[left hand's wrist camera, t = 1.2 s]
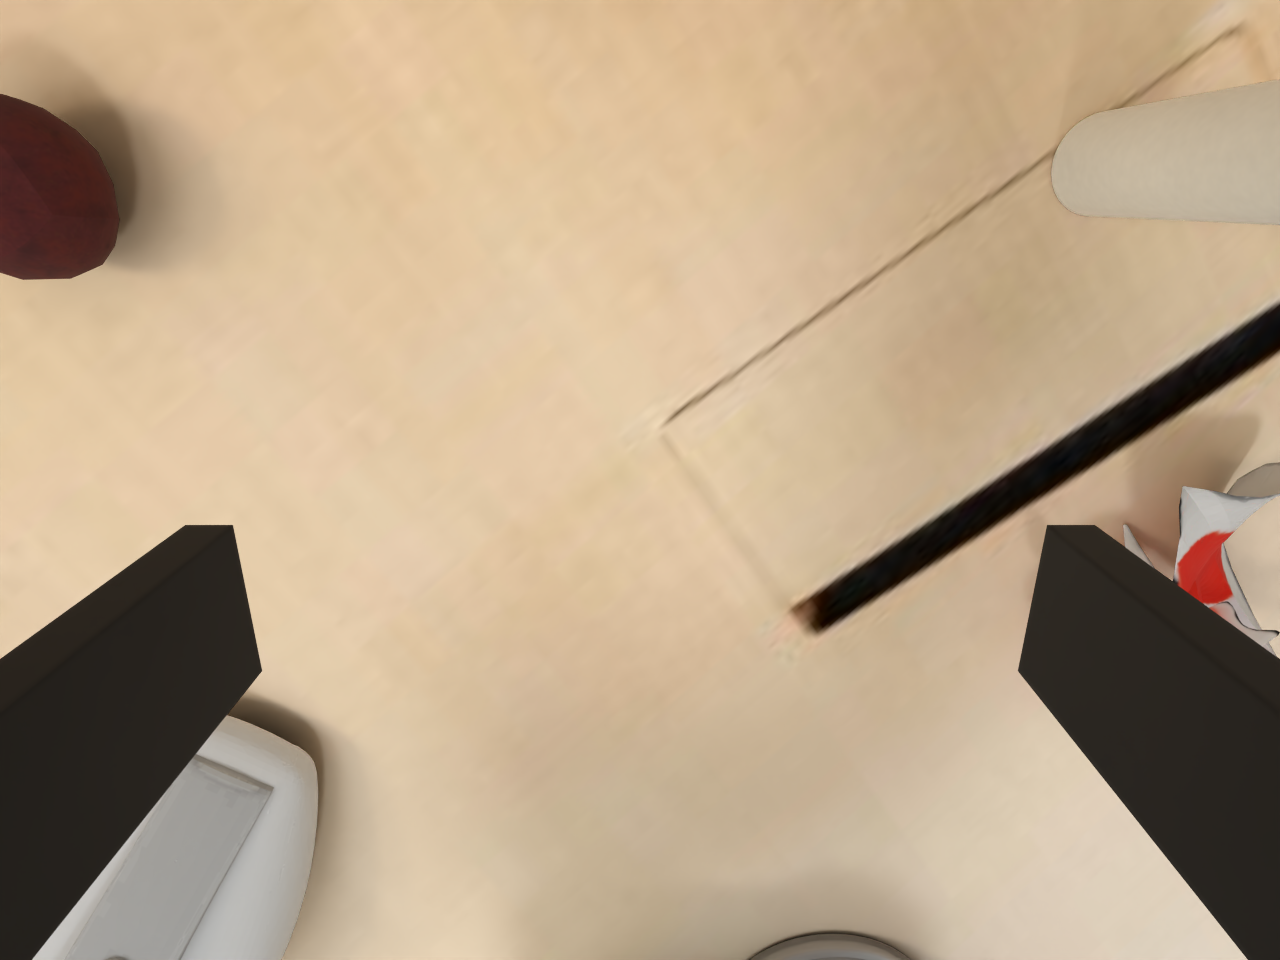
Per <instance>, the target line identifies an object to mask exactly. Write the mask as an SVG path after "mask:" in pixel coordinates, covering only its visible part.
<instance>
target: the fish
mask: <svg viewBox="0 0 1280 960" xmlns="http://www.w3.org/2000/svg"><path fill="white" fill-rule="evenodd" d="M1279 495H1280V463H1270V464H1265V465H1263V466H1261V467H1259V468H1257V469H1255V470H1253V471H1251V472H1249V473H1248V474H1246V475H1244V476H1242V477H1241V478H1239V479H1238V480H1237V481H1236V482H1235V483H1234V485H1233V486H1232V487H1231V489H1230V490H1229V491H1228V492H1227V494H1225V493H1221V492H1216V491H1211V490H1205V489H1198V488H1192V487H1185V486H1183V488H1182V493H1181V499H1180V505H1179V519H1180V539H1179V545H1178V551H1177V558H1176V564H1175V571H1174V578H1173V582H1174V583H1175V584H1177V585H1178V586H1179V587H1181V588H1182V589H1184V590H1185V591H1186V592H1188V593H1189V594H1190V595H1192V596H1193V597H1195V598H1196V599H1197V600H1199V601H1200V602H1202V603H1203V604H1204V605H1206V606H1207V607H1208V608H1210V609H1211V610H1213V611H1214V612H1215V613H1217V614H1218V615H1220V616H1221V617H1222V618H1224V619H1225V620H1226V621H1228V622H1229V623H1231V624H1232V625H1233V626H1235V627H1236V628H1237V629H1239V630H1240V631H1242V632H1243V633H1244V634H1246V635H1247V636H1249V637H1250V638H1251V639H1253V640H1254V641H1255V642H1257V643H1258V644H1260V645H1261V646H1262V647H1264V648H1265V649H1267V650H1268V651H1269V652H1271V653H1272V654H1273V655H1275V653H1274V651H1273V649H1272V647H1271V646H1270V644H1269V641H1271V640H1272V639H1273V638H1275V637H1276V636H1278V634H1279V633H1280V632H1278V631H1276V630H1262V629H1261V628H1260V626H1259V624H1258V622H1257V620H1256V619H1255V617H1254V615H1253V613H1252V611H1251V609H1250V606H1249V604H1248V602H1247V600H1246V598H1245V596H1244V594H1243V591H1242V589H1241V587H1240V585H1239V583H1238V581H1237V579H1236V576H1235V574H1234V572H1233V570H1232V568H1231V565H1230V562H1229V559H1228V556H1227V553H1226V550H1225V547H1224V544H1223V542H1224V541H1225V540H1226V539H1228V537H1229V536H1230V535H1231V534H1232V533H1233V532H1234V531H1235V530H1236V529H1237V528H1238V527H1239V526H1240V525H1241V524H1242V523H1243V522H1244V521H1245V520H1246V519H1247V518H1248V517H1249V516H1251V515H1252V514H1253V513H1254V512H1255V511H1257V510H1258V509H1259V508H1260V507H1262V506H1263V505H1264V504H1265V503H1267V502H1268V501H1270V500H1272V499H1273V498H1275V497H1277V496H1279ZM1123 531H1124V541H1125V547H1126V548H1127V549H1128V550H1130V551H1131V552H1132V553H1134V554H1135V555H1137V556H1138V557H1139V558H1141V559H1142V560H1143V561H1145V562H1146V563H1148V564H1149V565H1150V566H1152V567H1153V565H1152V563H1151V562H1150V560H1149V559H1148V557H1147V556H1146V555H1145V553H1144V552H1143V550H1142V549H1141V547H1140V546H1139V544H1138V542H1137V541H1136V539H1135V537H1134V536H1133V534H1132V532H1131V531H1130V529H1129V527H1128V526H1127V525H1123ZM1153 568H1154V567H1153ZM1275 656H1276V655H1275ZM1276 657H1277V656H1276Z"/></svg>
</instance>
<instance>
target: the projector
mask: <svg viewBox="0 0 1280 960" xmlns="http://www.w3.org/2000/svg"><path fill="white" fill-rule="evenodd" d="M317 815H318V781H317V771H316V767H315V764H314V761H313V760H312V758H311V757H310V756H309V755H308V753H306V752H305V751H304V750H303V749H301V748H300V747H298V746H296V745H293V744H291V743H290V742H288V741H286V740H284V739H282V738H280V737H278V736H276V735H275V734H273V733H271V732H268V731H266V730H264V729H262V728H259V727H257V726H255V725H253V724H250V723H248V722H245V721H243V720H240V719H237V718H234V717H231V716H228V715H226V717H225V718H224V719H223V721H222V722H221V723H220V724H219V726H218V727H217V728H216V729H215V731H214V732H213V733H212V734H211V736H210V737H209V738H208V739H207V741H206V742H205V743H204V744H203V746H202V747H201V748H200V749H199V751H198V752H197V753H196V754H195V756H194V757H193V758H192V759H191V761H190V762H189V763H188V764H187V766H186V767H185V768H184V769H183V771H182V772H181V773H180V775H179V776H178V777H177V778H176V780H175V781H174V782H173V783H172V785H171V786H170V787H169V788H168V790H167V791H166V792H165V793H164V795H163V796H162V797H161V798H160V800H159V801H158V802H157V803H156V805H155V806H154V807H153V808H152V810H151V811H150V812H149V813H148V815H147V816H146V817H145V818H144V820H143V821H142V822H141V823H140V825H139V826H138V827H137V829H136V830H135V831H134V832H133V834H132V835H131V836H130V837H129V839H128V840H127V841H126V842H125V844H124V845H123V846H122V847H121V849H120V850H119V851H118V852H117V854H116V855H115V856H114V857H113V859H112V860H111V861H110V862H109V864H108V865H107V866H106V867H105V869H104V870H103V871H102V872H101V874H100V875H99V876H98V877H97V879H96V880H95V881H94V883H93V884H92V885H91V886H90V888H89V889H88V890H87V891H86V893H85V894H84V895H83V896H82V898H81V899H80V900H79V901H78V903H77V904H76V905H75V906H74V908H73V909H72V910H71V911H70V913H69V914H68V915H67V916H66V918H65V919H64V920H63V921H62V923H61V924H60V925H59V926H58V928H57V929H56V930H55V931H54V933H53V934H52V935H51V936H50V938H49V939H48V940H47V942H46V943H45V944H44V945H43V947H42V948H41V949H40V950H39V952H38V953H37V954H36V955H35V957H34V958H33V959H32V960H282V957H283V955H284V953H285V950H286V948H287V946H288V943H289V941H290V938H291V935H292V933H293V930H294V927H295V924H296V922H297V919H298V916H299V913H300V909H301V906H302V902H303V899H304V896H305V892H306V889H307V884H308V879H309V875H310V870H311V865H312V859H313V853H314V846H315V837H316V828H317Z"/></svg>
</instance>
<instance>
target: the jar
mask: <svg viewBox="0 0 1280 960" xmlns="http://www.w3.org/2000/svg"><path fill="white" fill-rule="evenodd" d="M1051 180H1052V186H1053V189H1054V192H1055V194H1056V196H1057V198H1058V200H1059V201H1060V202H1061V204H1062V205H1063V206H1064V207H1065V208H1067V209H1068V210H1069V211H1071V212H1073V213H1075V214H1078V215H1081V216H1088V217H1110V218H1133V219H1155V220H1177V221H1199V222H1221V223H1243V224H1266V225H1280V79H1277V80H1272V81H1267V82H1261V83H1256V84H1250V85H1245V86H1239V87H1234V88H1228V89H1223V90H1217V91H1212V92H1207V93H1201V94H1196V95H1190V96H1185V97H1179V98H1174V99H1168V100H1163V101H1157V102H1152V103H1146V104H1141V105H1136V106H1130V107H1125V108H1119V109H1114V110H1108V111H1103V112H1099V113H1095V114H1093V115H1090V116H1088V117H1086V118H1085V119H1083V120H1081V121H1080V122H1079V123H1077V124H1076V125H1075V126H1074V127H1073V128H1071V130H1070V131H1069V132H1068V133H1067V134H1066V135H1065V137H1064V138H1063V139H1062V141H1061V143H1060V144H1059V146H1058V148H1057V150H1056V153H1055V155H1054V159H1053V163H1052V169H1051Z"/></svg>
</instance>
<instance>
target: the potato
mask: <svg viewBox="0 0 1280 960" xmlns="http://www.w3.org/2000/svg"><path fill="white" fill-rule="evenodd" d="M118 225H119V215H118V209H117V203H116V197H115V191H114V186H113V183H112V181H111V179H110V177H109V174H108V172H107V170H106V168H105V166H104V164H103V162H102V160H101V158H100V156H99V154H98V152H97V150H96V149H95V148H94V147H93V146H92V145H91V144H90V143H89V142H88V141H86V140H85V139H84V138H83V137H82V136H81V135H80V134H79V133H78V132H77V131H76V130H75V129H74V128H72V127H71V126H69V125H68V124H66V123H65V122H63V121H62V120H60V119H59V118H57V117H56V116H54V115H53V114H51V113H50V112H48V111H47V110H45V109H43V108H41V107H38V106H35V105H33V104H30V103H28V102H25V101H22V100H20V99H16V98H13V97H10V96H6V95H3V94H0V273H3V274H6V275H10V276H13V277H16V278H19V279H23V280H27V279H70V278H73V277H75V276H78V275H80V274H82V273H85V272H87V271H89V270H92V269H94V268H96V267H98V266H100V265H102V264H103V263H104V262H105V260H106V259H107V257H108V256H109V254H110V253H111V251H112V250H113V248H114V246H115V243H116V238H117V232H118Z"/></svg>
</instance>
